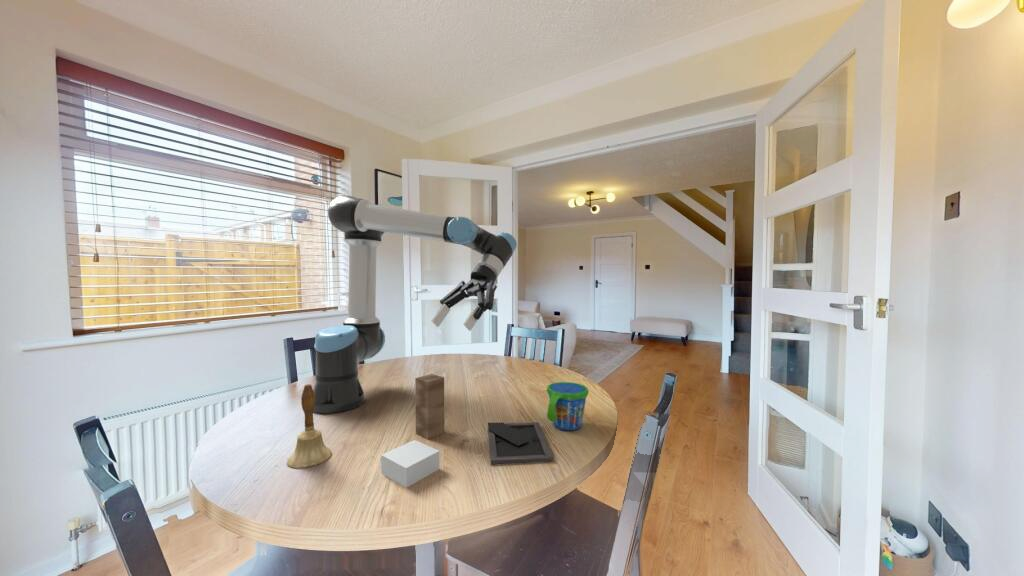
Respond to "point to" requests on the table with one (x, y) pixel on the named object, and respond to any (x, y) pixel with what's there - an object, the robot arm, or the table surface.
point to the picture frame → (517, 443)
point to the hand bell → (309, 437)
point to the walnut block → (429, 405)
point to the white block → (410, 463)
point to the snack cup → (566, 404)
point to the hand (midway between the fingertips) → (450, 325)
